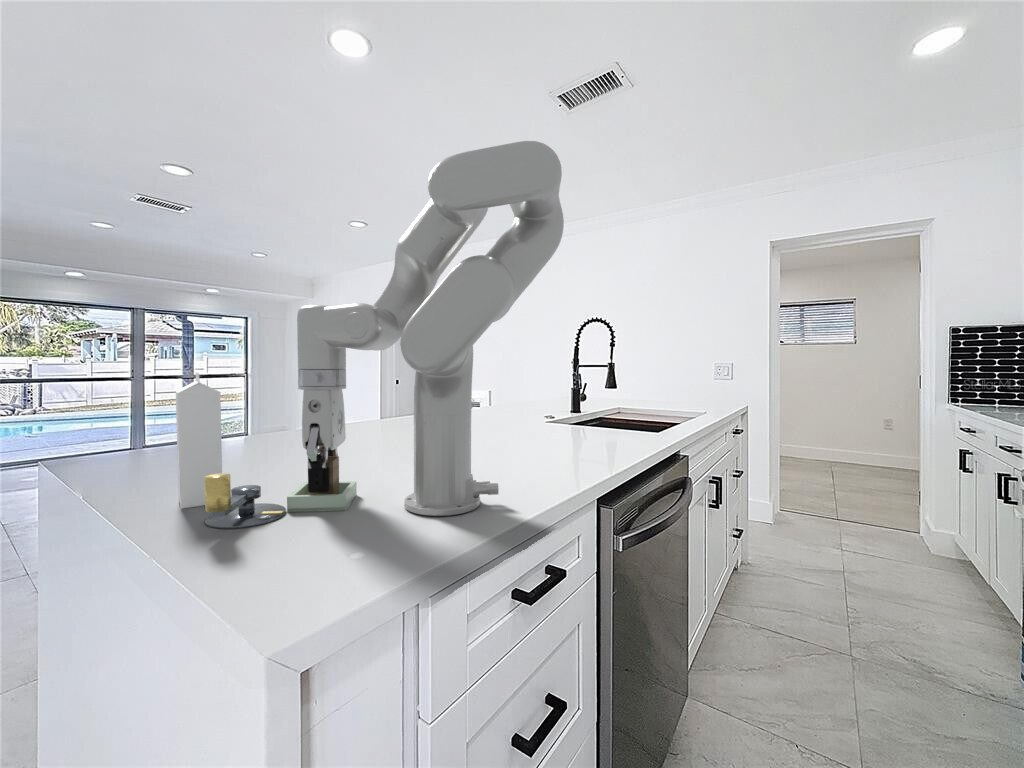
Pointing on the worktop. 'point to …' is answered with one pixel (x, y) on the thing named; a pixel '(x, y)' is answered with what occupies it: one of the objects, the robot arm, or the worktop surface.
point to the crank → (226, 494)
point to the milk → (197, 440)
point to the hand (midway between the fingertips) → (323, 486)
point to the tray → (321, 499)
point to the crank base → (247, 516)
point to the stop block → (331, 476)
